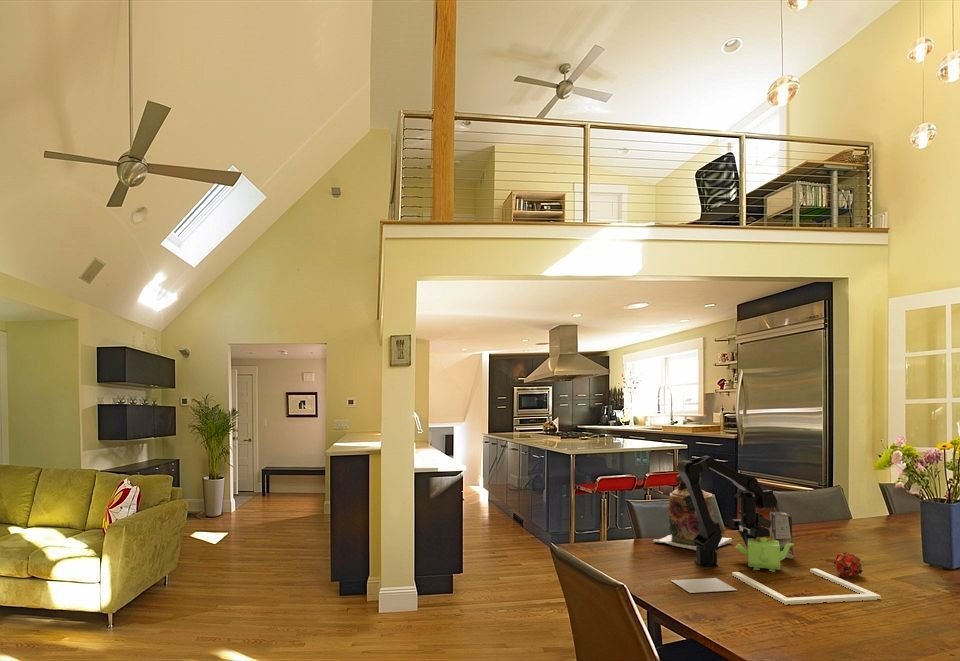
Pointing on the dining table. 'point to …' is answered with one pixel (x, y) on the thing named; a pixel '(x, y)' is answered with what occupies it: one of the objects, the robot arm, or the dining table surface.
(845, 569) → the dragon fruit
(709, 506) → the cookie jar
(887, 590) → the dining table surface
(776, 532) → the coffee box
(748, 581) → the kettle dock outline
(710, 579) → the paper stack
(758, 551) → the kettle
